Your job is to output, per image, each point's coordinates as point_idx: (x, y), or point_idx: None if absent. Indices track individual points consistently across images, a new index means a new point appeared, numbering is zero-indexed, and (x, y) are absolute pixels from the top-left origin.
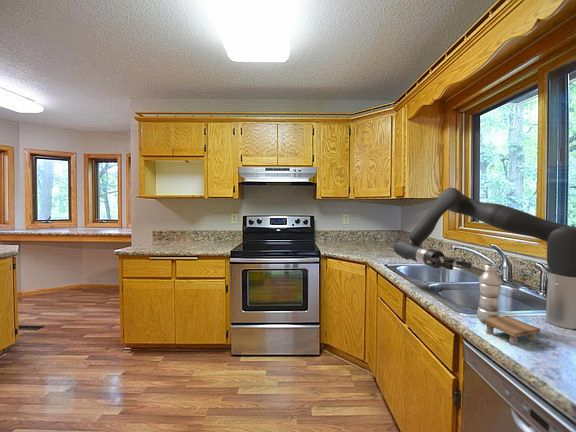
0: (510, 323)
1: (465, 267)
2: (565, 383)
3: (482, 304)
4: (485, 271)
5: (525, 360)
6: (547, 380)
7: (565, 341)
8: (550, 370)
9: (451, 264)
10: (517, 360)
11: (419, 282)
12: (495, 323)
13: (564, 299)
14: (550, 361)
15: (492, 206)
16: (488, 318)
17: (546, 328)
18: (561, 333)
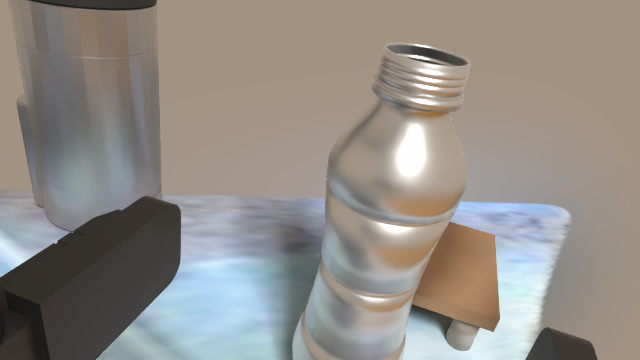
0: None
1: (131, 320)
2: (526, 208)
3: (408, 316)
4: (448, 117)
5: (521, 251)
6: (553, 224)
7: (289, 204)
8: (505, 221)
9: (587, 340)
10: (544, 261)
11: None
12: (487, 280)
13: (158, 105)
14: (461, 222)
15: None
16: (465, 305)
17: (208, 232)
18: (224, 208)
